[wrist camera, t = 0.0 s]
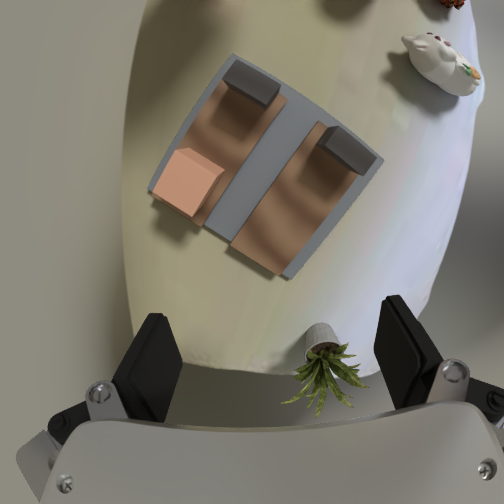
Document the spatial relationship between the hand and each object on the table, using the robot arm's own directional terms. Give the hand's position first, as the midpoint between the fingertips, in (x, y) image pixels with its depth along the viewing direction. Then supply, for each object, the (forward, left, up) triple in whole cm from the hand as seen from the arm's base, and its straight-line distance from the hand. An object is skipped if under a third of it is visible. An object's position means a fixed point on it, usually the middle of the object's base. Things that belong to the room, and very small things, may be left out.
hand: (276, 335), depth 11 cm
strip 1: (-1, -10, -30) cm, 32 cm away
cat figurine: (-34, +9, -32) cm, 48 cm away
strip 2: (-1, +4, -30) cm, 30 cm away
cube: (+4, -10, -29) cm, 31 cm away
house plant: (+18, +23, -31) cm, 43 cm away
